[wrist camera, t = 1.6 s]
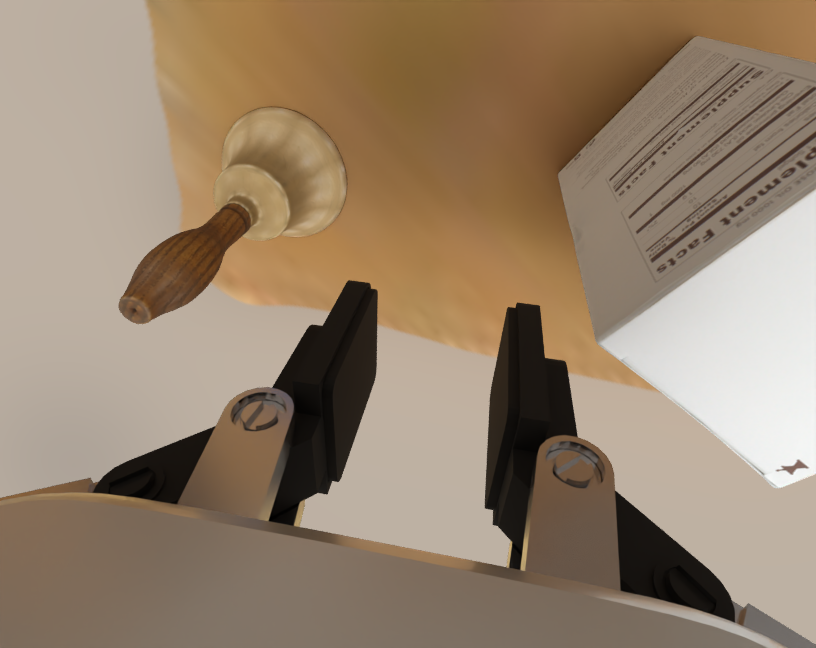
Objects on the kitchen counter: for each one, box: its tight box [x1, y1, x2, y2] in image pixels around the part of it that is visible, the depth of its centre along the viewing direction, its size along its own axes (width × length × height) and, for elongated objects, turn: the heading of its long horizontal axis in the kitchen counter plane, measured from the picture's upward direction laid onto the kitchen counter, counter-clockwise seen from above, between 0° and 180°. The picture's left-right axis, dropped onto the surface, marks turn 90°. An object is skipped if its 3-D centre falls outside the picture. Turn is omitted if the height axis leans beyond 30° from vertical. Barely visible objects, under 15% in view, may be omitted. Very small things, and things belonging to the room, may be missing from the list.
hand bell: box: [119, 107, 347, 324], centre depth 25 cm, size 8×8×16 cm
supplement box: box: [558, 36, 816, 488], centre depth 20 cm, size 10×9×17 cm
